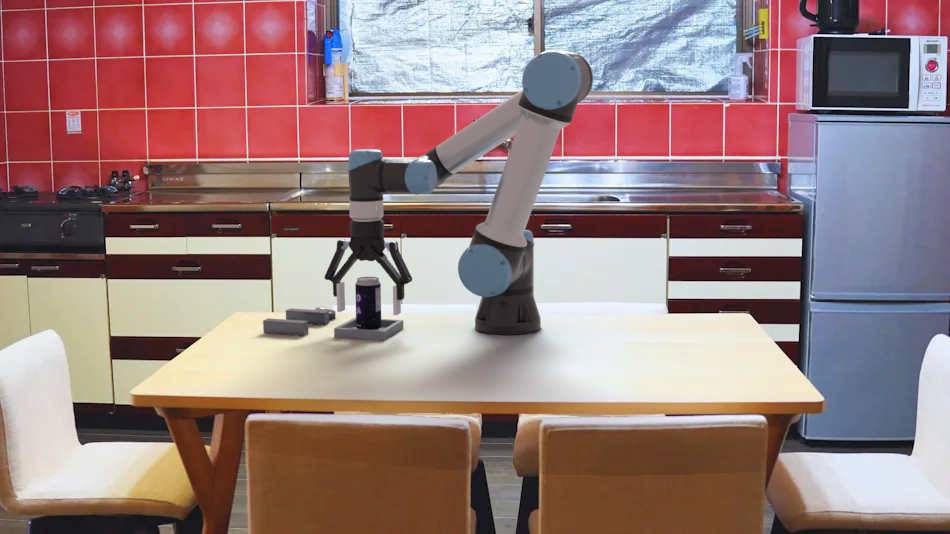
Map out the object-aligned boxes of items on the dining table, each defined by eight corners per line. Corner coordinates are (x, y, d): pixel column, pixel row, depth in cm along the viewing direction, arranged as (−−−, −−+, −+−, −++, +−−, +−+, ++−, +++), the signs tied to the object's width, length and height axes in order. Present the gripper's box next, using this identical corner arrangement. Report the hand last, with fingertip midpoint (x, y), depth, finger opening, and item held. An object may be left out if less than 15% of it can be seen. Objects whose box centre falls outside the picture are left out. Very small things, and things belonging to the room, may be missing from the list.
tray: (403, 328, 254) (403, 320, 253) (384, 340, 242) (384, 331, 242) (355, 325, 257) (355, 317, 257) (334, 337, 246) (334, 328, 245)
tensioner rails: (342, 316, 267) (341, 304, 266) (303, 336, 247) (303, 323, 246) (304, 314, 270) (304, 302, 269) (263, 333, 250) (263, 320, 249)
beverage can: (368, 326, 253) (367, 275, 251) (386, 330, 250) (385, 278, 248) (351, 330, 249) (350, 278, 247) (368, 334, 246) (367, 281, 244)
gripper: (425, 218, 245) (426, 311, 249) (322, 215, 252) (325, 306, 256) (413, 222, 238) (415, 318, 242) (308, 219, 245) (311, 312, 249)
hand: (368, 312), depth 249 cm, fingers open, 13 cm apart
